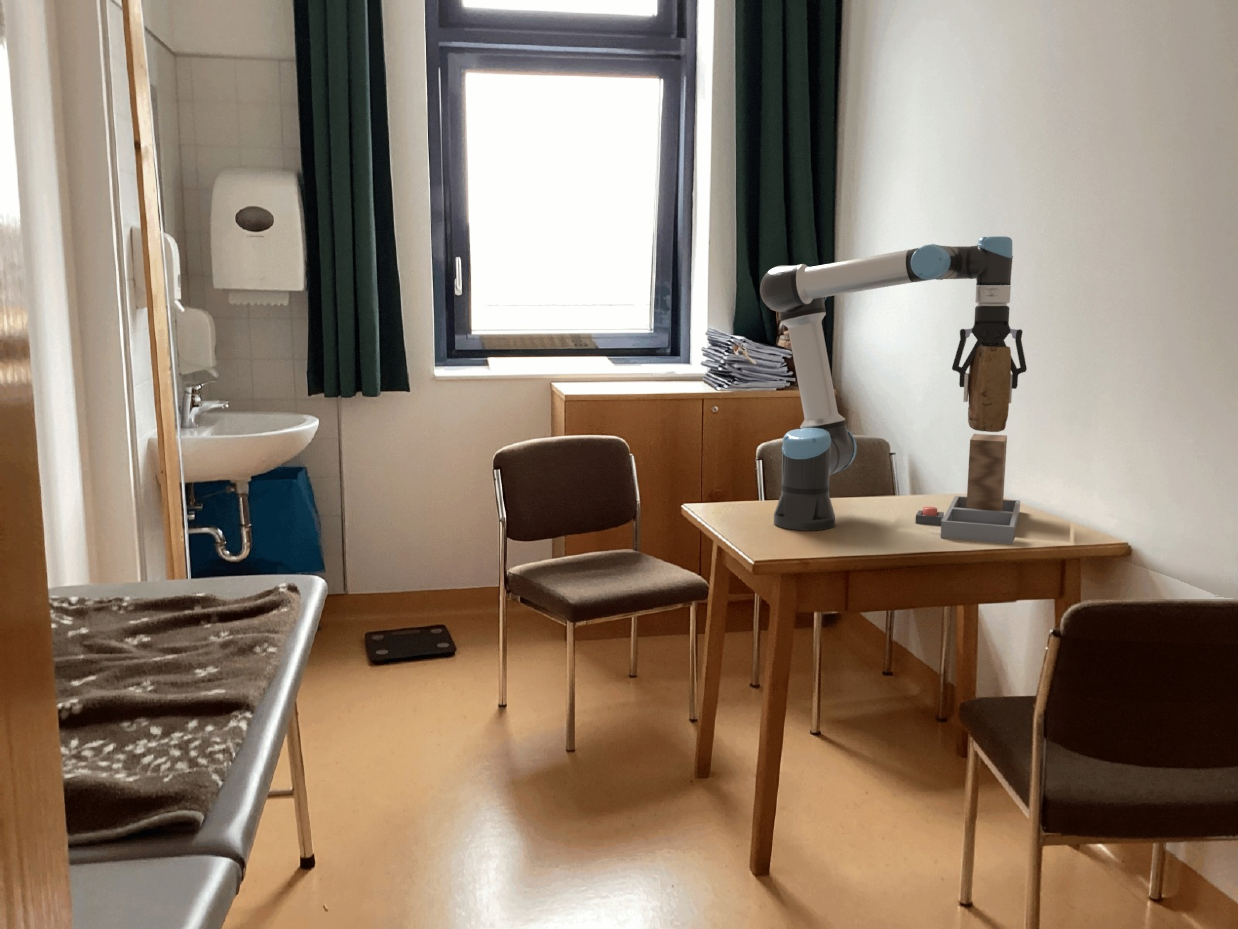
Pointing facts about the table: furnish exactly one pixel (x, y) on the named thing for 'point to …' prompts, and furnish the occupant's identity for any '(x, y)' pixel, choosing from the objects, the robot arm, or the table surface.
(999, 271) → the robot arm
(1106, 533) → the table surface
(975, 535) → the gray divided tray
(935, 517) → the button housing
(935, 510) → the button
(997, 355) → the block
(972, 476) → the seated billet
